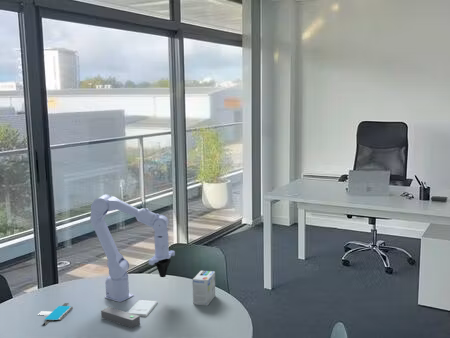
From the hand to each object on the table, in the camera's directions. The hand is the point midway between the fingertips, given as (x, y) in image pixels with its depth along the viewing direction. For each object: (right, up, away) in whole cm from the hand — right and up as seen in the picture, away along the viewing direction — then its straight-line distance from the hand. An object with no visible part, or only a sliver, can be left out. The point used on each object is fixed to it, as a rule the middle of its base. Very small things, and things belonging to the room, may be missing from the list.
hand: (162, 276), depth 196 cm
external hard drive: (-7, -12, -10) cm, 16 cm away
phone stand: (-41, -13, -13) cm, 45 cm away
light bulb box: (+17, -10, -1) cm, 20 cm away
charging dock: (-13, -12, -20) cm, 27 cm away
